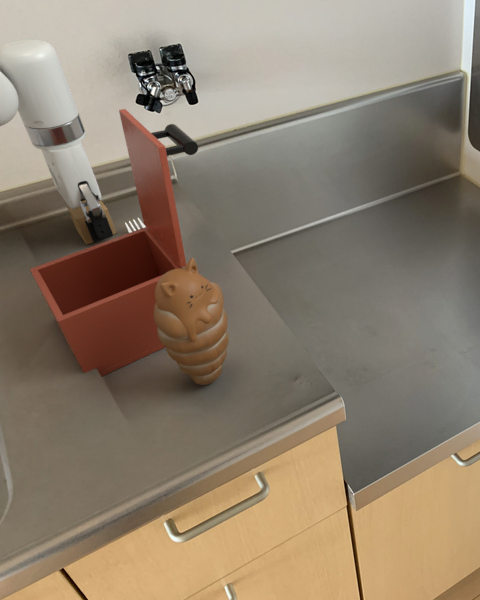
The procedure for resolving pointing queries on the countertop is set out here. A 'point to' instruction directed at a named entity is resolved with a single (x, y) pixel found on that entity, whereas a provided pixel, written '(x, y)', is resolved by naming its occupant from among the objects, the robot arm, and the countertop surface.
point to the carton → (80, 220)
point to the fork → (133, 226)
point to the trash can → (107, 299)
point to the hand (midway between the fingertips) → (95, 227)
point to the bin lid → (157, 179)
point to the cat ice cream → (192, 322)
